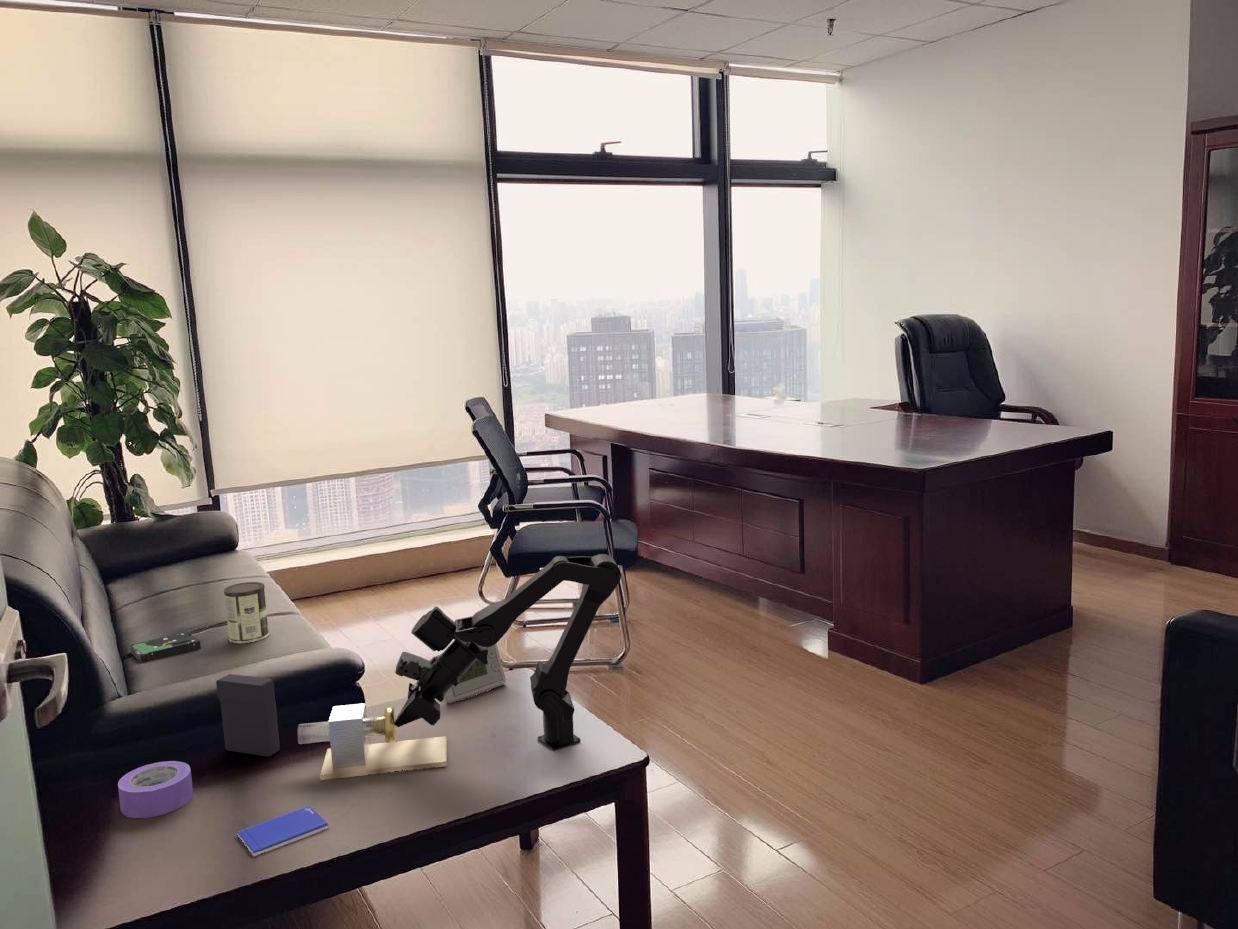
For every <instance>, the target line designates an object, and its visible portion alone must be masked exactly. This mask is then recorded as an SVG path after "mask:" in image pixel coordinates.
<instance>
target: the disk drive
mask: <svg viewBox="0 0 1238 929" xmlns="http://www.w3.org/2000/svg"><path fill="white" fill-rule="evenodd" d="M201 646H202V645H201V640H199V639H198V637H196V636H195V635H192V633H191V632H190V631H185V632H181V633H177V634H173V635H172V634H171V635H168V636H163V637H158V638H154V639H150V640H146V641H141V642H137V643H132V644H130V645H129V647H130V653H131V654H132V656H134V658H136V659H137V661H138V662H140V663H144V662H149V661H153V660H157V659H161V658H166V657H171V656H174V655H179V654H183V653H187V652H192V651H195V650H199V649H201V648H202V647H201Z"/></svg>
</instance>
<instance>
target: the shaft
mask: <svg viewBox="0 0 1238 929" xmlns="http://www.w3.org/2000/svg"><path fill="white" fill-rule="evenodd" d="M396 719H397V717H396V709H395V706H388V707H384V715H377V716H369V717H367V716H366V718H364V719H363V729H364V737H368V738H369V737H370V738H371V737H379V736H384V737H385V743H392V742H396V740H397V726H396V725H395V724H394V723H395V720H396ZM297 742H298V744H299V745H303V744H304V745H305V744H312V743H313V744H314V743H320V742H330V732H329V720H327V721H319V722H310V723H309V722H308V723H300V724H298V726H297Z"/></svg>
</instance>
